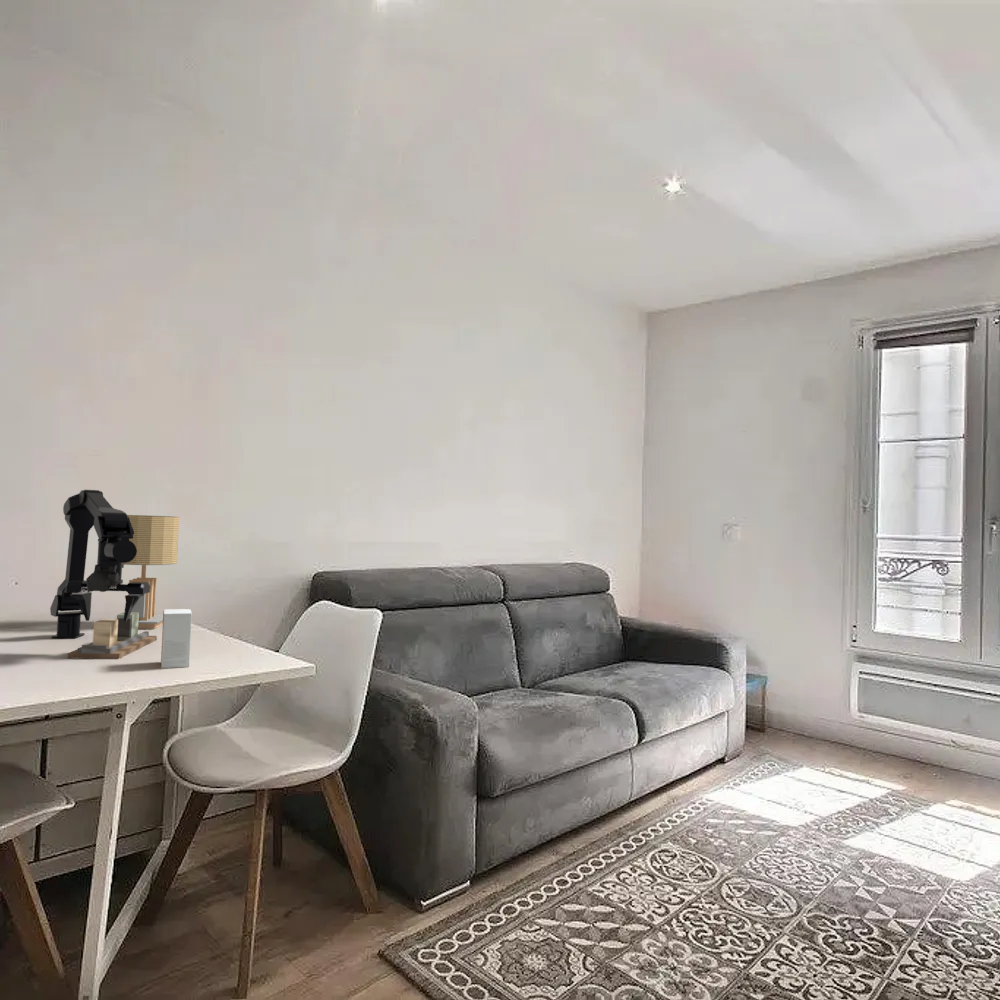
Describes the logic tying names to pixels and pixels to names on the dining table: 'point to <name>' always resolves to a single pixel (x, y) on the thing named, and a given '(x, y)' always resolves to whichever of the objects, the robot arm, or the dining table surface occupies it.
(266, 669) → the dining table surface
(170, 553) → the desk lamp
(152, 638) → the rail base
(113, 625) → the tan wooden block
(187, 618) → the small box
